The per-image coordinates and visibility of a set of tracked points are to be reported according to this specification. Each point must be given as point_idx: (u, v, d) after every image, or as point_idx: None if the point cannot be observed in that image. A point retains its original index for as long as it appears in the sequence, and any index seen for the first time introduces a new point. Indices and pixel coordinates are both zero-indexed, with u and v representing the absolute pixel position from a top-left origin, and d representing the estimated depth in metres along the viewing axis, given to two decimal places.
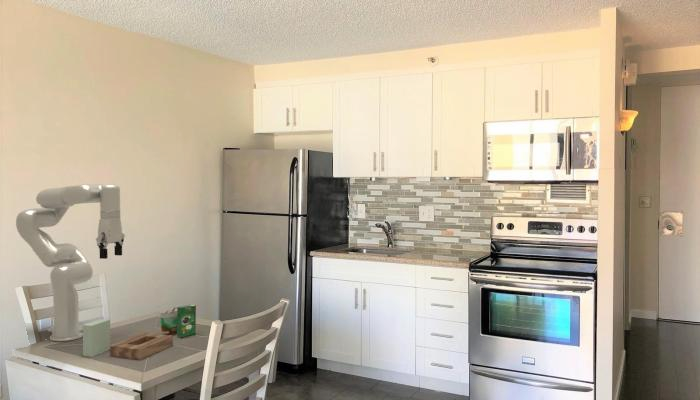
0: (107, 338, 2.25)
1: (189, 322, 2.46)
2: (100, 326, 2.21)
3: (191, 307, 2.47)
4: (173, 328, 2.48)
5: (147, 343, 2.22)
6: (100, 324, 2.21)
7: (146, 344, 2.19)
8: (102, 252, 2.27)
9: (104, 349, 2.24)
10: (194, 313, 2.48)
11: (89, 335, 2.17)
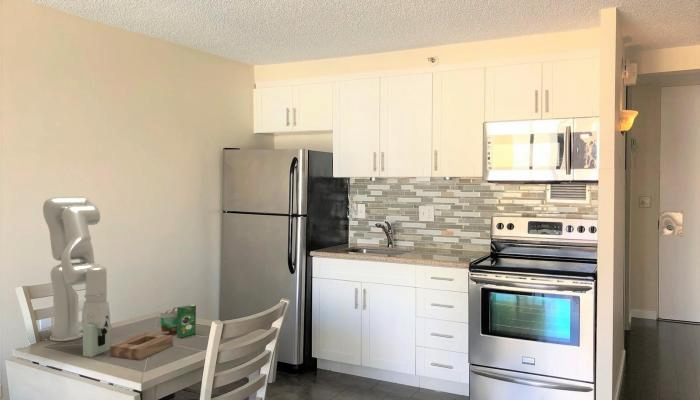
0: (107, 338, 2.25)
1: (189, 322, 2.46)
2: None
3: (191, 307, 2.47)
4: (173, 328, 2.48)
5: (147, 343, 2.22)
6: None
7: (146, 344, 2.19)
8: (103, 338, 2.21)
9: (104, 349, 2.24)
10: (194, 313, 2.48)
11: (89, 335, 2.17)
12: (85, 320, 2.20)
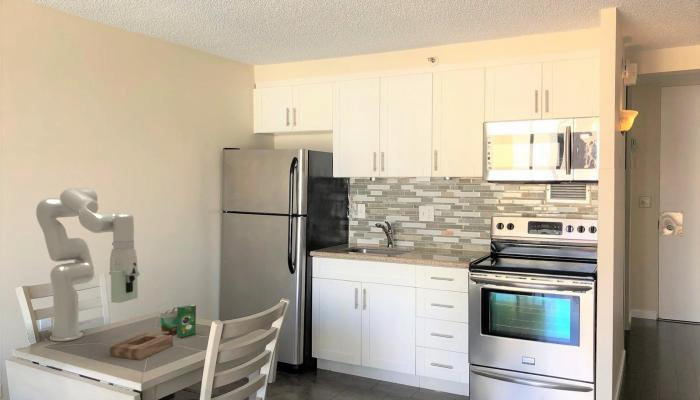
0: (134, 286, 2.26)
1: (189, 322, 2.46)
2: None
3: (191, 307, 2.47)
4: (173, 328, 2.48)
5: (147, 343, 2.22)
6: None
7: (146, 344, 2.19)
8: (131, 285, 2.22)
9: (132, 297, 2.24)
10: (194, 313, 2.48)
11: (117, 281, 2.18)
12: (113, 267, 2.21)
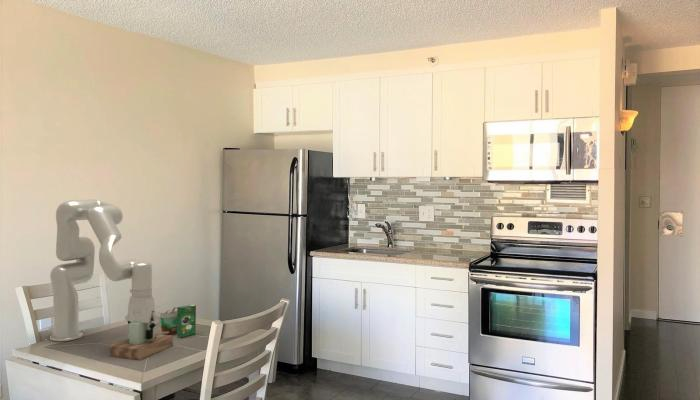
0: None
1: (189, 322, 2.46)
2: (145, 325, 2.24)
3: (191, 307, 2.47)
4: (173, 328, 2.48)
5: (147, 343, 2.22)
6: None
7: (146, 344, 2.19)
8: (151, 332, 2.24)
9: None
10: (194, 313, 2.48)
11: (135, 333, 2.20)
12: (131, 315, 2.23)
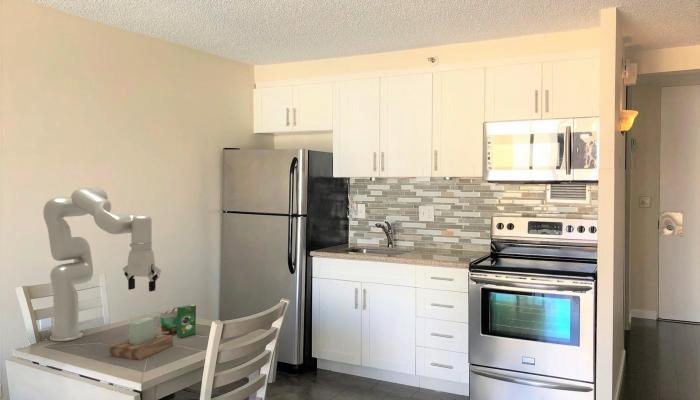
0: (152, 337, 2.28)
1: (189, 322, 2.46)
2: (145, 325, 2.24)
3: (191, 307, 2.47)
4: (173, 328, 2.48)
5: (147, 343, 2.22)
6: (145, 322, 2.24)
7: (146, 344, 2.19)
8: (154, 284, 2.23)
9: None
10: (194, 313, 2.48)
11: (135, 333, 2.20)
12: (131, 268, 2.22)
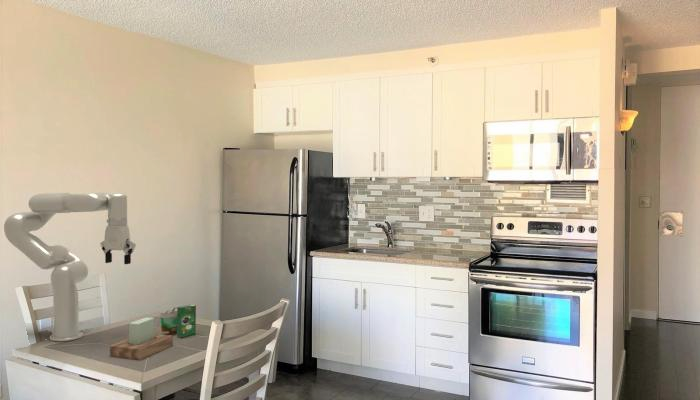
0: (152, 337, 2.28)
1: (189, 322, 2.46)
2: (145, 325, 2.24)
3: (191, 307, 2.47)
4: (173, 328, 2.48)
5: (147, 343, 2.22)
6: (145, 322, 2.24)
7: (146, 344, 2.19)
8: (129, 257, 2.38)
9: None
10: (194, 313, 2.48)
11: (135, 333, 2.20)
12: (107, 243, 2.38)
